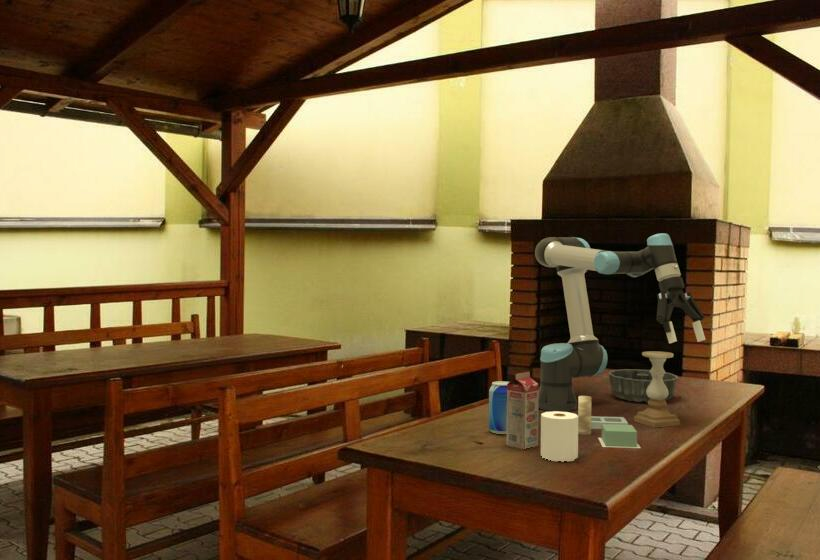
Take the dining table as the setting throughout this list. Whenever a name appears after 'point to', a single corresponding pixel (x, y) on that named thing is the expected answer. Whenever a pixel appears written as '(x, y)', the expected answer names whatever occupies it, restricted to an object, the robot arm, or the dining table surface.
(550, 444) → the toilet paper
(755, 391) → the dining table surface
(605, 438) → the cover
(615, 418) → the grey double window frame
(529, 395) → the juice carton
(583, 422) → the peg
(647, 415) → the candle holder
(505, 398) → the beer can
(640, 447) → the mat
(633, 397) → the bundt pan
